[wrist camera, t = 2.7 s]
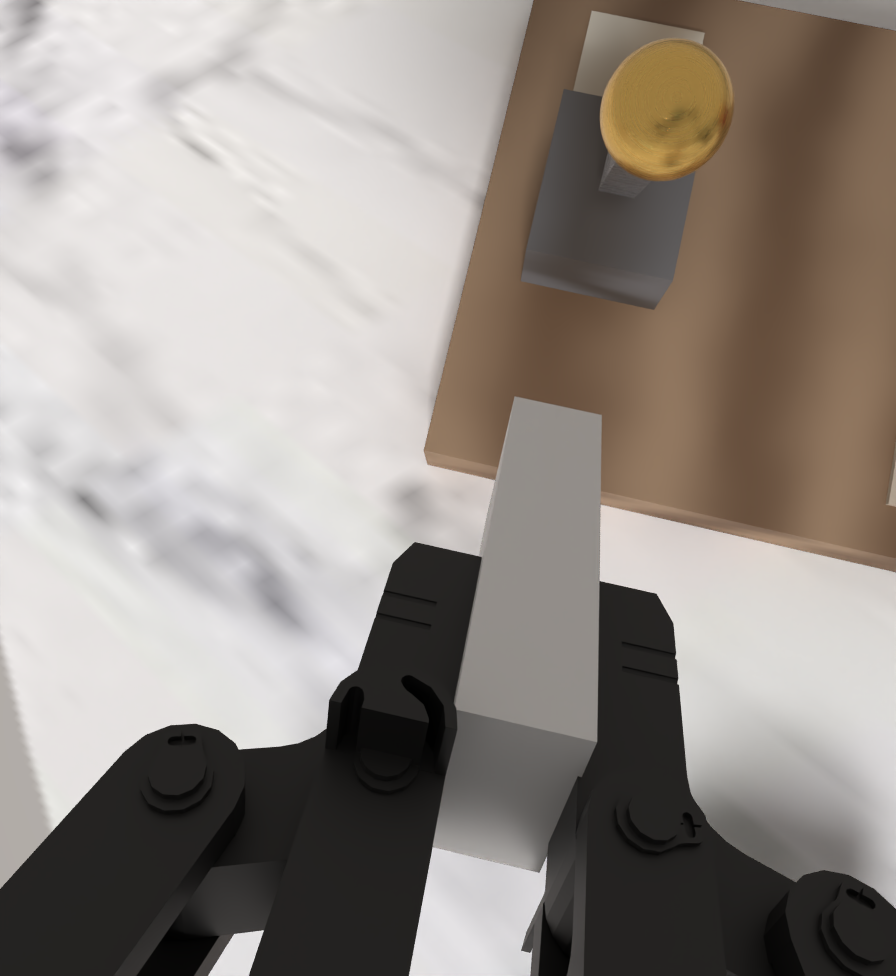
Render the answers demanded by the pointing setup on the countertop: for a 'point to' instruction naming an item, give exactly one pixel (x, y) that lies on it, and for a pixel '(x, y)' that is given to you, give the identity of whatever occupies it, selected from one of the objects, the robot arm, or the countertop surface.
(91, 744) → the countertop surface
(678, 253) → the brown wooden base
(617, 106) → the lever
